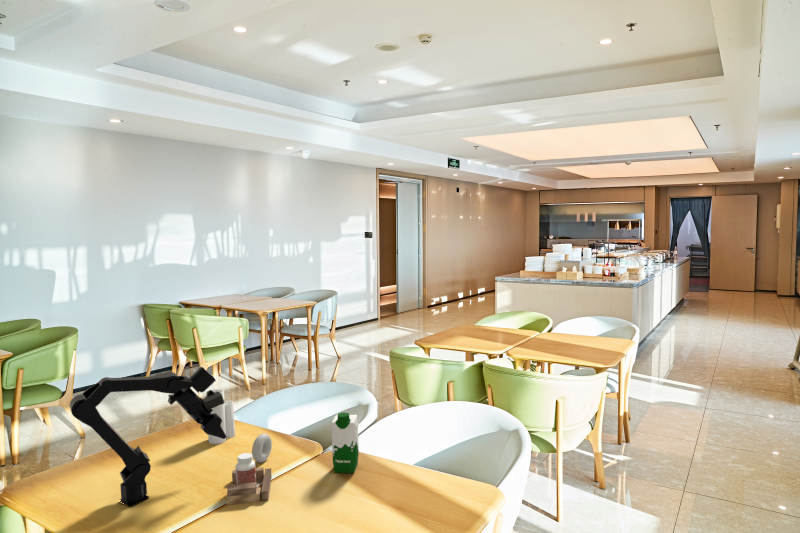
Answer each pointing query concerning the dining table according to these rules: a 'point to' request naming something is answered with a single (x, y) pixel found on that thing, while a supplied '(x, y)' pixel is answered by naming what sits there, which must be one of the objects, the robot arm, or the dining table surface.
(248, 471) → the pill bottle
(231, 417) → the vase
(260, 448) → the grey rounded piece
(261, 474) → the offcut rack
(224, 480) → the dining table surface
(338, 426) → the milk carton
